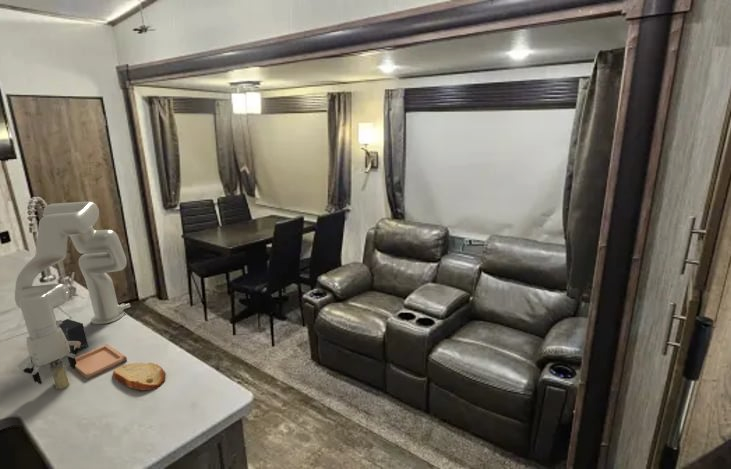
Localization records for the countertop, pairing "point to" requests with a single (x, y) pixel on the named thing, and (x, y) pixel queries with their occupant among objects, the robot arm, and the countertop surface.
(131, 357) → the countertop surface
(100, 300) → the robot arm
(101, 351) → the rest tray
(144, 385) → the slice of bread
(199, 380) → the countertop surface
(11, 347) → the countertop surface
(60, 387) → the lighter
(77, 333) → the small box
